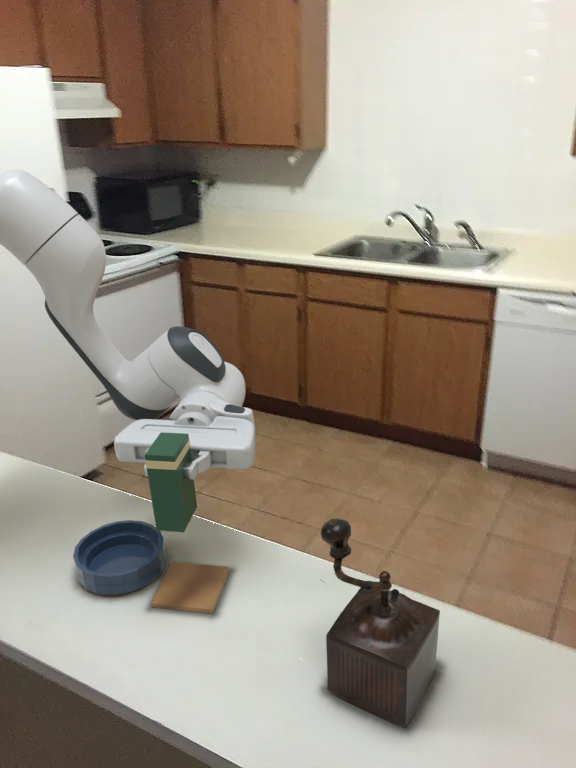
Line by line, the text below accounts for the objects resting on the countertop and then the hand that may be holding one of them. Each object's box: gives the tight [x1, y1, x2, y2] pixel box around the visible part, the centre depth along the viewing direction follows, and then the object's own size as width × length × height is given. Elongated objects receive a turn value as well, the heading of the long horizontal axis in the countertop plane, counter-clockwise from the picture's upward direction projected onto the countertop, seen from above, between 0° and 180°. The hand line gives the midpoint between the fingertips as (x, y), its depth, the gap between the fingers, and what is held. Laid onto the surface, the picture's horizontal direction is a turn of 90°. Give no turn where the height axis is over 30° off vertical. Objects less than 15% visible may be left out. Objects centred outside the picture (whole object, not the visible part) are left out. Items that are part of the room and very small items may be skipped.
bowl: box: [72, 519, 167, 596], centre depth 101 cm, size 13×13×4 cm
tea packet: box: [144, 432, 198, 533], centre depth 91 cm, size 4×6×12 cm
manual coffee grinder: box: [320, 517, 441, 729], centre depth 79 cm, size 16×11×18 cm
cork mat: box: [150, 561, 230, 615], centre depth 97 cm, size 9×9×1 cm
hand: (168, 473), depth 89 cm, fingers closed on tea packet, 4 cm apart
